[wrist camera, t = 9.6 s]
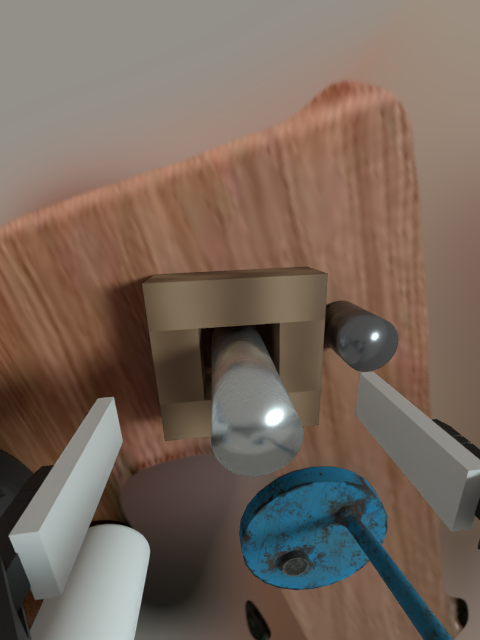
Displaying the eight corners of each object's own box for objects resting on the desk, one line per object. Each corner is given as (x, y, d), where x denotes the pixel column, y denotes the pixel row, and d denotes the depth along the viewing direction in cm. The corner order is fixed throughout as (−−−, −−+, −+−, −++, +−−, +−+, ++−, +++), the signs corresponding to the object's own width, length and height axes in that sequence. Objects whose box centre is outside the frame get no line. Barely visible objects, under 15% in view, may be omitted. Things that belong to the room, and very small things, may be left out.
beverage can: (55, 556, 29) (-48, 771, 17) (97, 506, 27) (15, 703, 16) (124, 581, 31) (73, 787, 19) (166, 536, 29) (138, 729, 18)
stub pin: (315, 346, 24) (340, 373, 20) (317, 302, 23) (345, 320, 18) (358, 342, 25) (394, 369, 20) (363, 299, 23) (401, 316, 19)
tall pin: (213, 361, 24) (214, 480, 12) (209, 317, 23) (207, 404, 11) (259, 358, 24) (301, 471, 13) (258, 314, 23) (304, 395, 11)
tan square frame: (171, 408, 25) (164, 440, 21) (154, 274, 21) (142, 283, 17) (302, 396, 26) (318, 425, 22) (307, 266, 22) (327, 273, 18)
